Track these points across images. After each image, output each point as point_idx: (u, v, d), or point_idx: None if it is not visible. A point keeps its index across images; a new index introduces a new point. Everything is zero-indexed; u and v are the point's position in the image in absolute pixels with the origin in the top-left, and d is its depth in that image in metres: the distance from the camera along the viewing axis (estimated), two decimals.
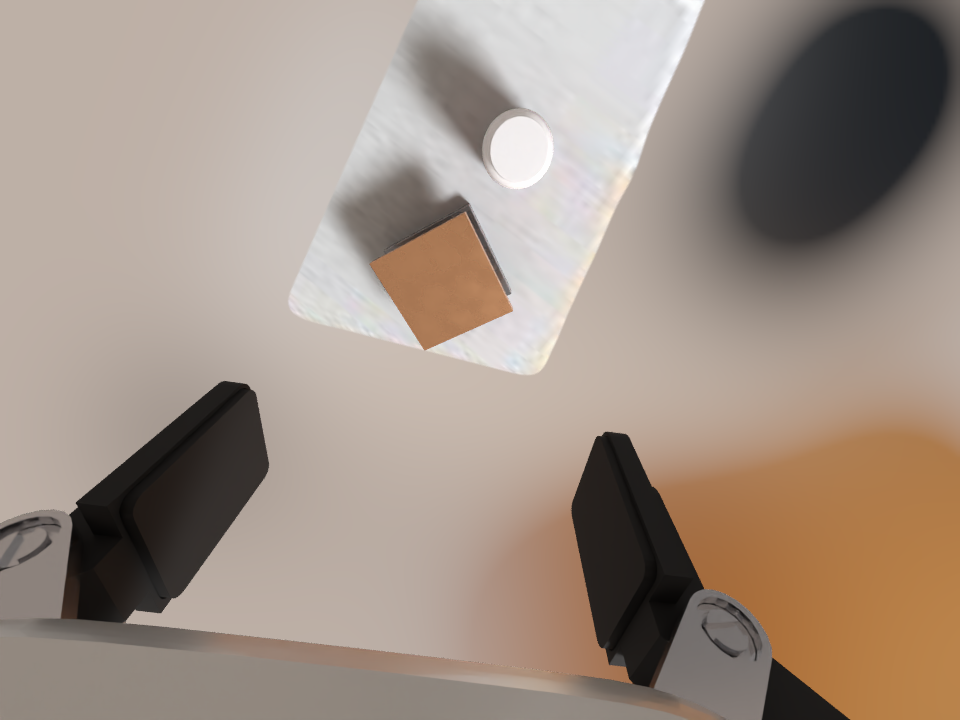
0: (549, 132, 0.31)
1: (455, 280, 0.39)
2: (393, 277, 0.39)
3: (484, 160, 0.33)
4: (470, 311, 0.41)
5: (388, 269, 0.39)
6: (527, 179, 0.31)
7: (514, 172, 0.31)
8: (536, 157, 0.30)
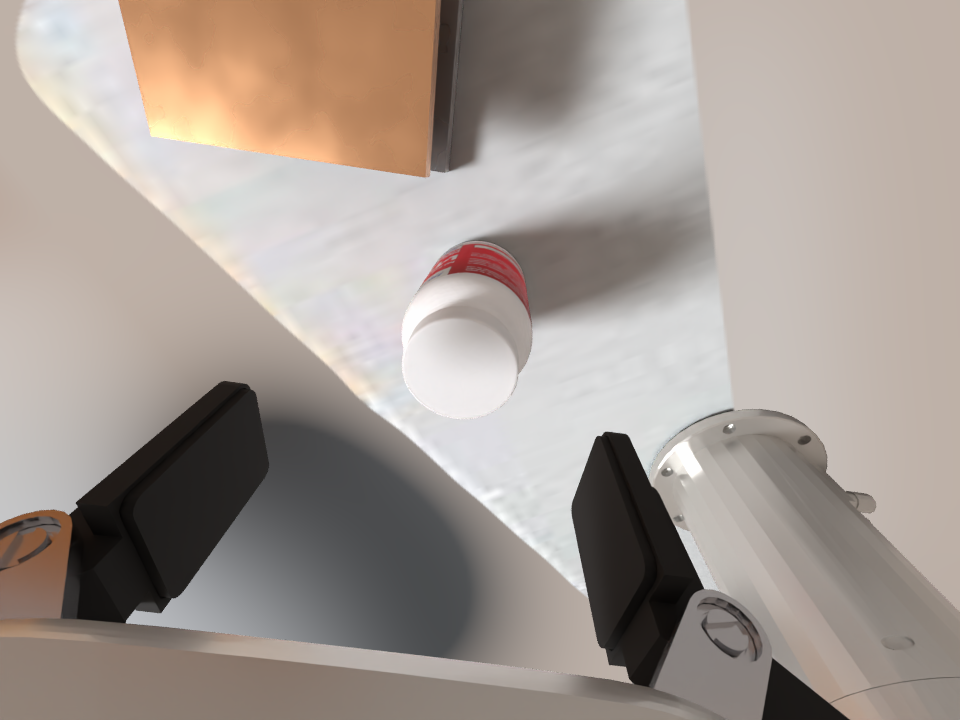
0: None
1: (280, 31, 0.13)
2: None
3: (487, 284, 0.16)
4: (174, 10, 0.13)
5: None
6: (404, 359, 0.15)
7: (429, 346, 0.14)
8: (430, 389, 0.15)
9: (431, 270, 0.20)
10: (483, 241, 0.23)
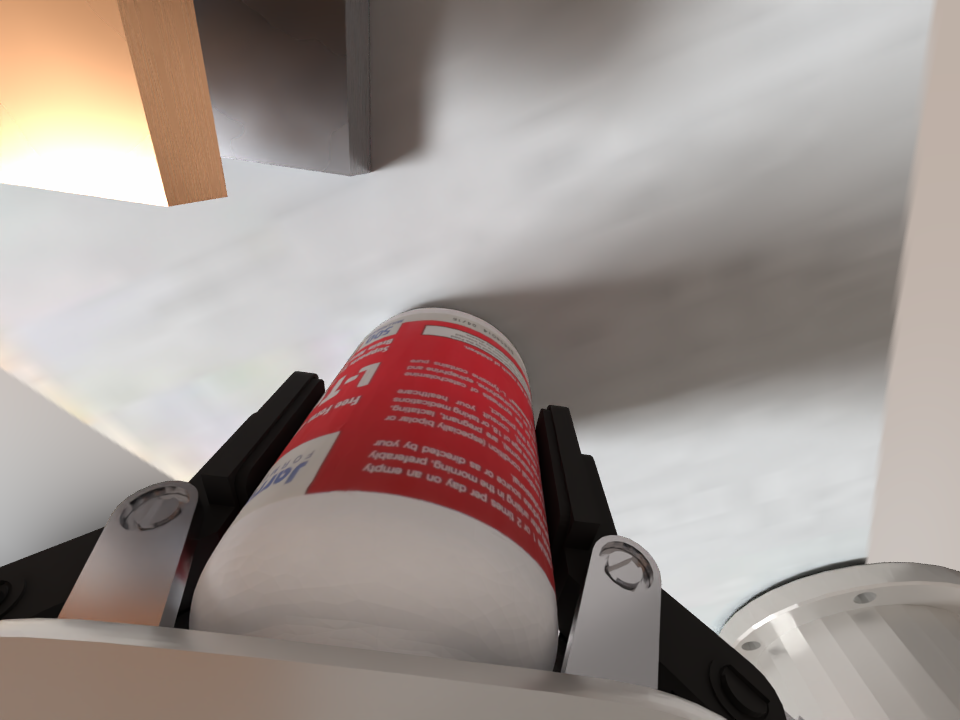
0: None
1: None
2: None
3: (420, 553, 0.05)
4: None
5: None
6: None
7: None
8: None
9: (325, 392, 0.09)
10: (446, 309, 0.12)
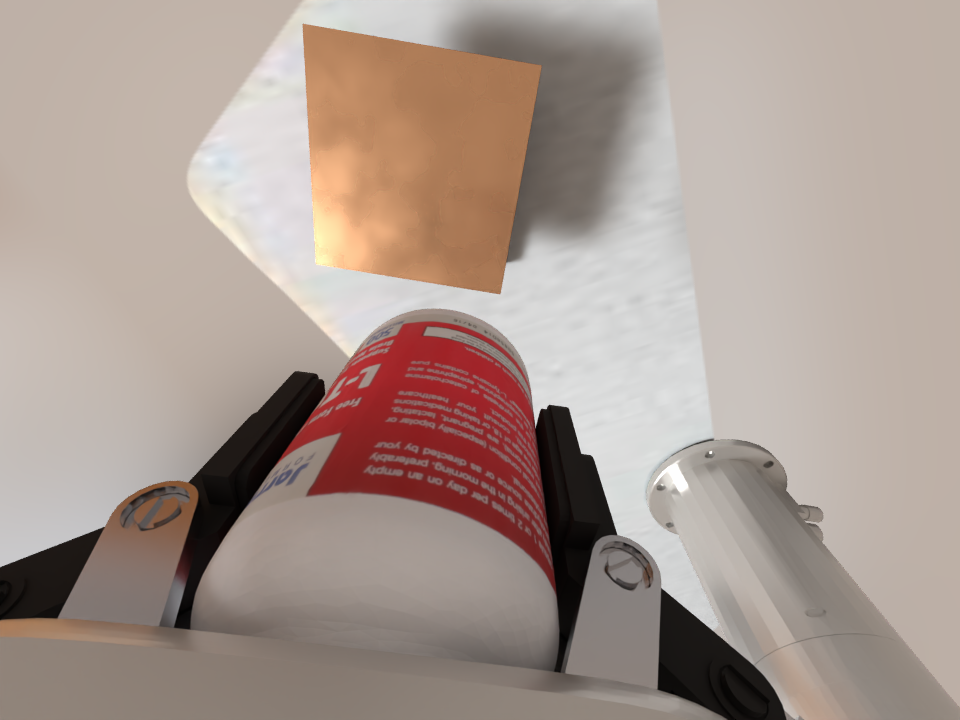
0: None
1: (415, 209, 0.21)
2: (487, 95, 0.18)
3: (422, 556, 0.05)
4: (347, 195, 0.20)
5: (507, 98, 0.18)
6: None
7: None
8: None
9: (326, 393, 0.09)
10: (447, 311, 0.12)
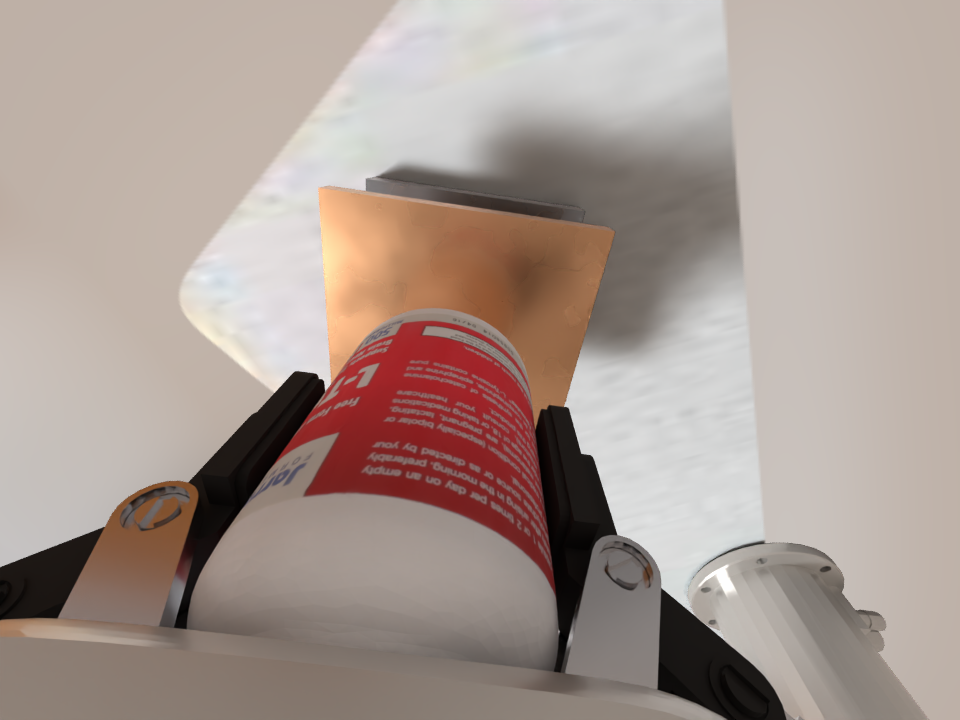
0: None
1: None
2: (545, 262, 0.15)
3: (419, 556, 0.05)
4: None
5: (569, 265, 0.15)
6: None
7: None
8: None
9: (324, 393, 0.09)
10: (446, 310, 0.11)
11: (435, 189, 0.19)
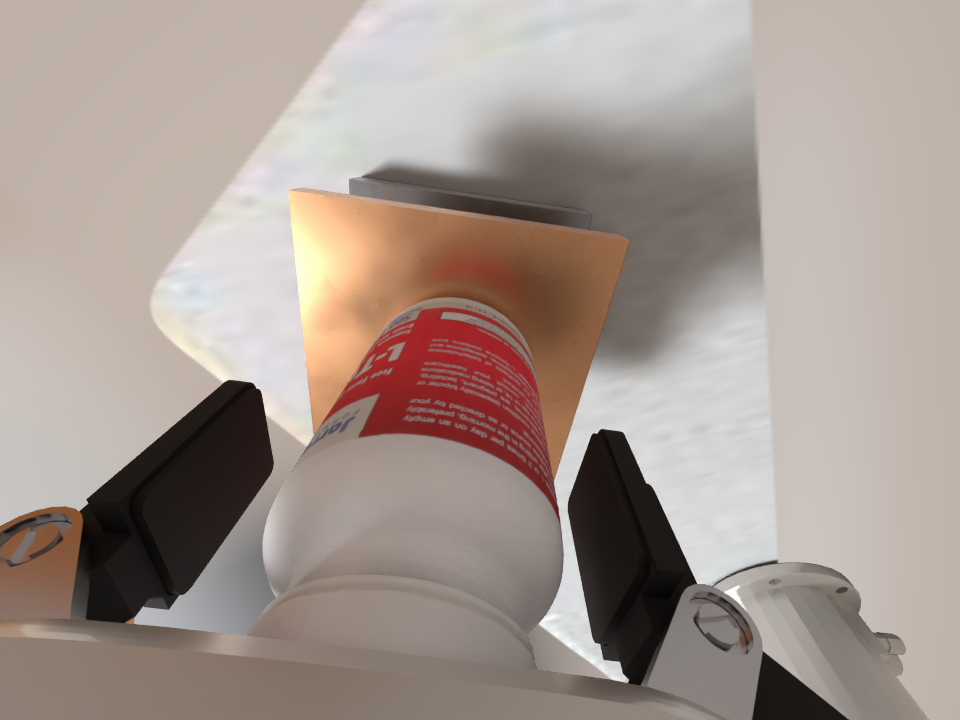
0: None
1: None
2: (549, 275, 0.13)
3: (454, 477, 0.06)
4: None
5: (577, 278, 0.13)
6: None
7: None
8: None
9: (357, 369, 0.11)
10: (459, 299, 0.13)
11: (426, 190, 0.17)
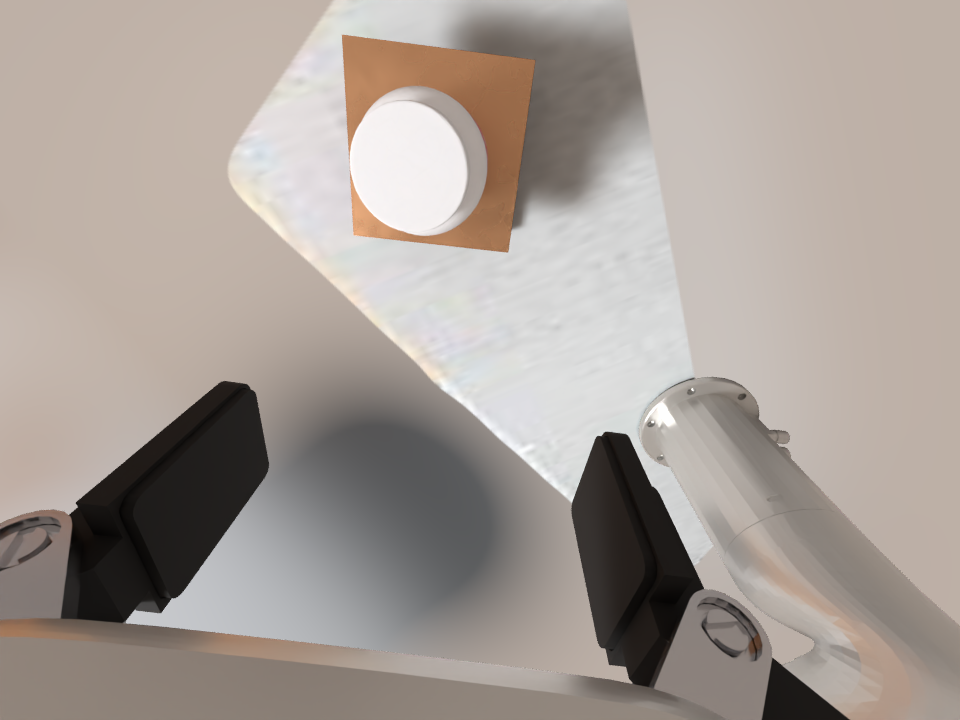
0: (418, 233, 0.18)
1: None
2: (492, 86, 0.22)
3: (435, 92, 0.16)
4: None
5: (508, 87, 0.22)
6: (351, 158, 0.15)
7: (375, 139, 0.14)
8: (382, 196, 0.15)
9: None
10: None
11: None
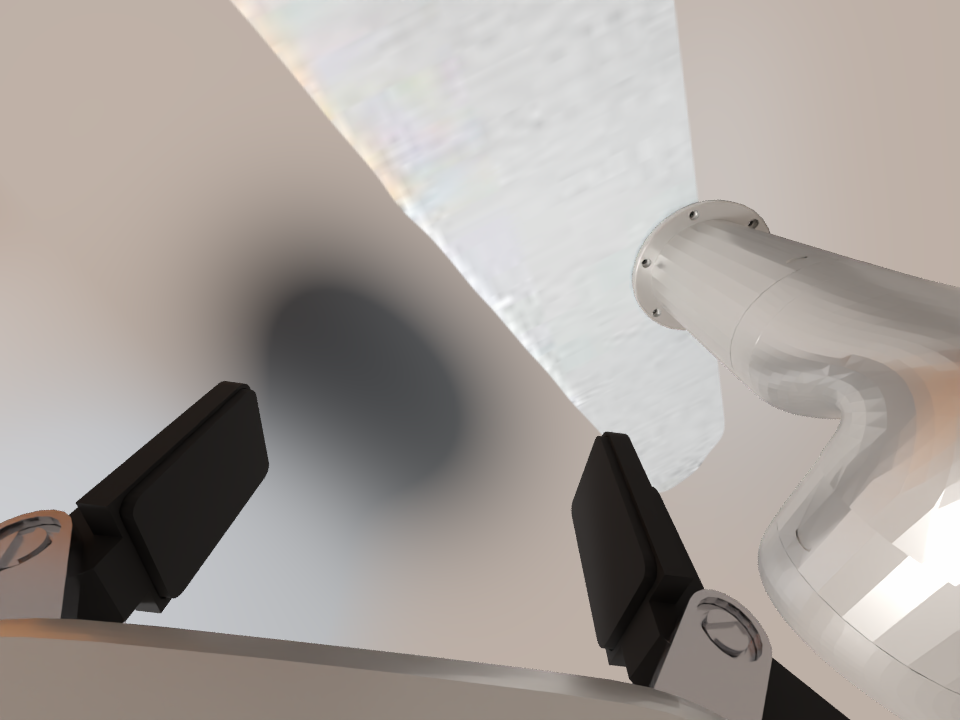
0: None
1: None
2: None
3: None
4: None
5: None
6: None
7: None
8: None
9: None
10: None
11: None
